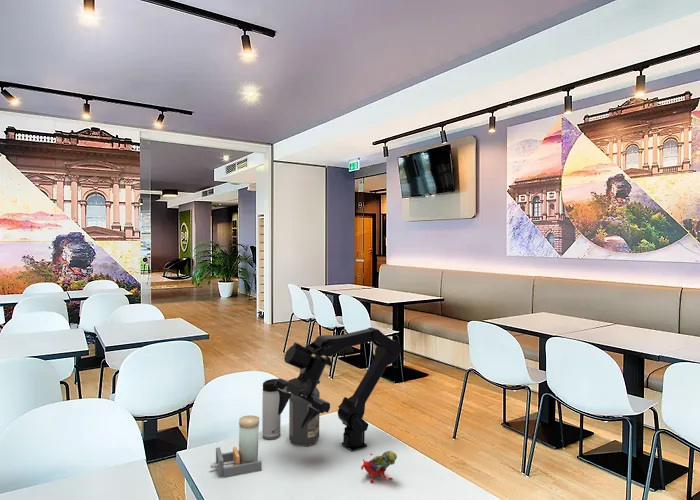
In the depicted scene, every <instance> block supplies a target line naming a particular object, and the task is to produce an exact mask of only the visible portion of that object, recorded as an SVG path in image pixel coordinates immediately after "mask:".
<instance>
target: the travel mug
mask: <svg viewBox="0 0 700 500" xmlns="http://www.w3.org/2000/svg"><path fill="white" fill-rule="evenodd" d="M278 379H279V378H270V379H267V380H264V382H262V414H261V415H262V419H261V420H262V422H261V423H262V426H261V427H262V430H261V432H262V435H261V436H262V438H263V439H264V440H267V441H272V440H276V439H279V438H280V437H281V422H282V421H281V420H282V419H281V415H278V409H279V398H280V396H279V392H278V391H277V389H278V388H277V387H276V386H274V385H275V383H276V381H277V380H278Z"/></svg>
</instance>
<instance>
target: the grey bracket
mask: <svg viewBox="0 0 700 500" xmlns="http://www.w3.org/2000/svg"><path fill="white" fill-rule="evenodd" d="M238 453H239V450H238ZM230 461H233V451H230V452H229V451H228V452H223V453H222V450H221V446H218V447H215V464H218V467H217V468H218V469H217V475H218V477H219V478H228V477H234V476H239V475H245V474H250V473H254V472H255V473H256V472H260V471H262V469H263V467H262V465H263V462H262V460H258V461H256V462H251V463H245V464H240V465H234V464H233V465H228V466H225V465H224V463H225V462H230Z"/></svg>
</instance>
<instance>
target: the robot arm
mask: <svg viewBox="0 0 700 500" xmlns="http://www.w3.org/2000/svg"><path fill="white" fill-rule="evenodd" d="M370 342H372V343H373V345H375V346H376V347H375V350H374V358H373V361H372V362H371V364H370V366H369V367H368V369H367V370H366V372H365V374H364V376H363V378H362V379H361V381H360V383H359V385H358V386H357V388H356V389H355V391H354V393H353V394H352V395H351V396H350V397H346V396H344V397H343V399H342V401H341V403H340V405H338V406H337V407H338V410H337V417H338V419H339V420H340V421H341V422H342V425H345V427H344V429H343V430H344V432H343V438H342V439H343V440H342V442H341V445H342V446H344V447H345V448H346V449H348V450H350V451H351V452H354V451H357V450H360V449H364V448H366V447H368V444H367V443H366V442H365V441H366V440H365V439H366V435H365V433H366V431H367V430H368V427H369V423H368V422H367V421H365V420H364V419H363V418H364V416H365V412H366V411H365V410H366V409H365V408H366V403H367V401H368V400H369V398H370V395H371V394H372V392H373V390H374V389H375V387H376V386H377V384H378V382H379V381H380V378H381V377H382V375H383V374H384V372H385V370H386V368H387V367H388V366H389V365H391V364H392V363H393V362H395V361H396V359H397V358H398V357H399V356H400V354H401V352H402V346H401V344H400V342H399V341H397V340H394V339H392V338H390V337H388V336H387V335H386V334H384V333H383V332H382V331H380V330H379V329H378V328H376V327H368V328H365V329H360V330H356V331H353V332H352V331H351V332H348V333H344V334H340V335H332V334H331V335H330V334H328V335H327V334H325V335H319V336H316V337H315V340H314V341H312V342H311V343H309V344H308V345H305V346H303V345H301V344H300V343H298V342H294V343H293V345H291V346H290V347H288V349H287V350H286V352H285V354H284V363H286V364H288V365H290V366H293V367H295V368H297V369H299V370H300V369H303V368H305V369H304V371H303V373H300V372H299V374H298V376H297V377H294V378H291V379H289V380H288V379H284V378H277V379H278V380H277V381H276V383H275V385H274V386H276V387H277V388H278V389H277V391H278V392H279V396H280V398H279V409H278V415H281V414H282V413H283V411H284V410H285V408H286V406H287V404H288V403H289V398H290V396H291V395H292V394H293V395H294V396H299V397H301V398H303V399H305V400H306V401H308V402H310V403H311V404H312V407H309V410H308V413H307V415H306V417H305V419H304V421H303V423H302V426H301V428H304V427H305V426H306V425H307V424H308V423H309V422H310V421H311V420H312V419H313V418H314V417H316V416H317V415H318V414H319V415H320V414H324V413H329V411H330V409H331V403H330V402H328V401H327V400H325V399H323V398H316V397H315V398H314V397H312V396H314V394H315V393H313V392H314V390H315V388H317V386H318V385H320V383H321V381H320V379H321V377H322V375H323V372H324V370H325V368H326V366H329V367H333V363H332V360H331V357H332V356H334V355H336V354H338V353H340V352H341V351H342V350H344V349H347V348H351V347H354V346H358V345H363V344H366V343H367V344H368V343H370ZM291 393H292V394H291ZM304 396H305V397H304ZM306 397H307V398H306Z"/></svg>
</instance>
